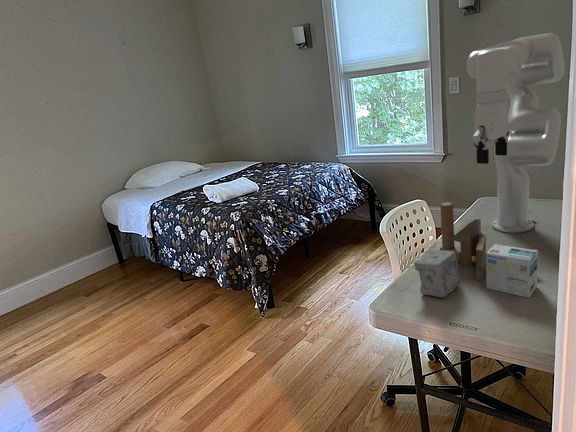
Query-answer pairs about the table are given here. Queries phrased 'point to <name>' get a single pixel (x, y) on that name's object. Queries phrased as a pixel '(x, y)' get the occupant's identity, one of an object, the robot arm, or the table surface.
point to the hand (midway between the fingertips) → (492, 159)
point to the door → (480, 256)
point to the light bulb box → (511, 270)
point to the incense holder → (438, 273)
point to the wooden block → (458, 236)
